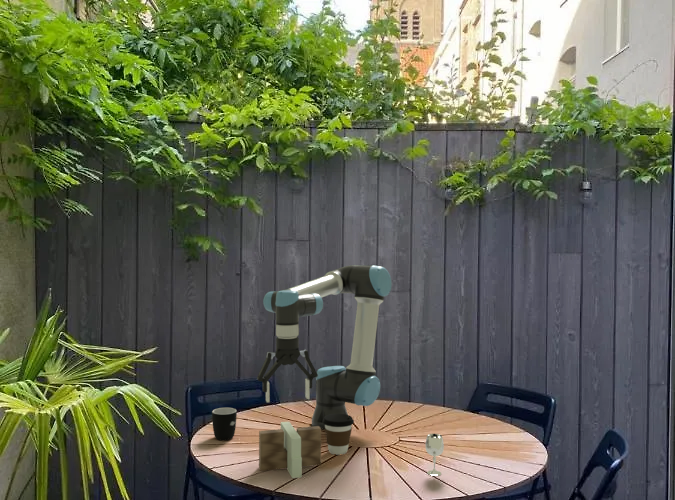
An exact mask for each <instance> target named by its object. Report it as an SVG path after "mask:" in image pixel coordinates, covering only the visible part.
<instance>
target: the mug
mask: <svg viewBox="0 0 675 500" xmlns="http://www.w3.org/2000/svg"><path fill="white" fill-rule="evenodd" d="M237 413H238V412H237V409H236V408H233V407H219V408H215V409H213V410H212V411H211V415H212V416H211V418H212V428H213V429H212V430H213V435H214V438H215V439H216V440H218V441H222V440H224V441H229V440H233V437H234V436H235V433H236V427H237V416H238V415H237Z"/></svg>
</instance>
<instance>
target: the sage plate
mask: <svg viewBox="0 0 675 500" xmlns="http://www.w3.org/2000/svg"><path fill="white" fill-rule="evenodd" d="M280 429H283V431H284V449H285V448H286V450H287V468H286V470H287V472H288V473H289V475H290V478H292V479H298V478H302V475H303V473H302V471H303V467H302V458H301V437H300V436H299V434H298V433H297V429H295V427H294V426H293V425H292V423H291V422H290V421H281V422H280Z"/></svg>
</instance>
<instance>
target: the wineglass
mask: <svg viewBox="0 0 675 500" xmlns="http://www.w3.org/2000/svg"><path fill="white" fill-rule="evenodd" d="M444 443H445V442H444V439H443V435H442V434H441V433H440V434H439V433H428V434H427V435H426V438H425V444H424V447H425V451H426V453H427V454H428V455H430V456H432V462H433V469H431V470H428V471H427V473H426V474H427V475H429V476H432V477H438V476H439V477H440V476H441V475H442V471H439V470H436V462H437V461H436V460H437V457H438V456H440V455H442V454H443V453H444V448H445V447H444V446H445V445H444Z"/></svg>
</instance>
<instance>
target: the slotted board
mask: <svg viewBox="0 0 675 500" xmlns="http://www.w3.org/2000/svg"><path fill="white" fill-rule="evenodd" d="M258 431H259V432H258V436H259V437H258V469H259V471H260V472H264V471H267V472H268V471H275V470H284V469H286V470H287V450H286V448H285V449H284V431H283V429H281V428H279V429H266V430H258ZM296 432H297V433H298V434H299V436H300V437H301V458H302V468H303V466H306V467H313V466H312V465H316V466H321V465H322V429H321V428H320V427H319V426H303V427H301V426H300V427H296Z"/></svg>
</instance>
